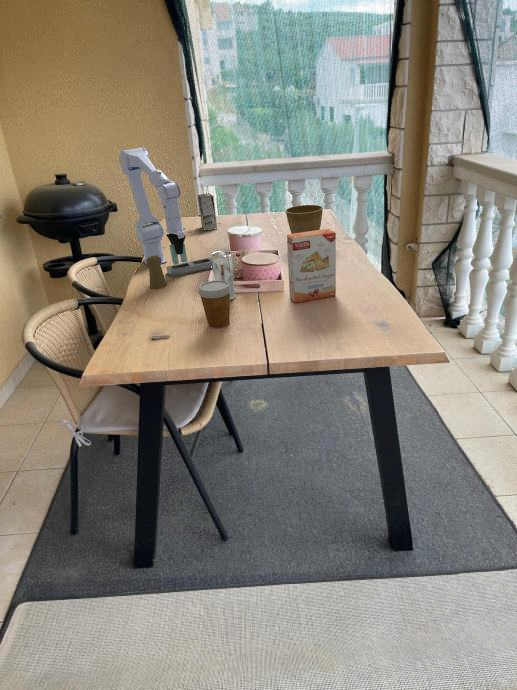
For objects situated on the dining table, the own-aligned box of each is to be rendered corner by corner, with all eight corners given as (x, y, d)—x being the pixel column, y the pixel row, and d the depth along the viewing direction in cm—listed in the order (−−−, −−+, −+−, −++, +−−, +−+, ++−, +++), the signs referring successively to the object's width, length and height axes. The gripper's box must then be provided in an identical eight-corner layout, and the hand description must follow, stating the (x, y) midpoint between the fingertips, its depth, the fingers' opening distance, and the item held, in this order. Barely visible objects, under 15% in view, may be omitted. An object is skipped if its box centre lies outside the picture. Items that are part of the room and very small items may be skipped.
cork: (163, 288, 184) (158, 259, 179) (147, 289, 185) (141, 259, 180) (169, 282, 189) (164, 253, 184) (153, 283, 191) (148, 254, 186)
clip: (172, 263, 197) (169, 245, 194) (185, 260, 199) (182, 242, 196) (174, 264, 195) (171, 246, 192) (187, 261, 197) (184, 243, 194)
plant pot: (323, 241, 221) (322, 203, 214) (323, 251, 208) (322, 211, 201) (288, 243, 223) (286, 205, 216) (286, 253, 210) (284, 213, 202)
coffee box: (217, 229, 254) (213, 195, 247) (205, 231, 253) (200, 197, 245) (213, 225, 262) (209, 192, 255) (201, 227, 261) (196, 194, 253)
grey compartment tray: (167, 273, 200) (166, 266, 199) (210, 263, 206) (210, 257, 205) (172, 277, 195) (170, 270, 194) (216, 267, 201) (215, 261, 200)
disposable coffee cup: (218, 314, 159) (213, 277, 154) (241, 321, 154) (237, 282, 148) (196, 326, 153) (190, 288, 148) (219, 333, 147) (214, 293, 142)
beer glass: (240, 294, 174) (235, 250, 167) (232, 302, 168) (227, 257, 161) (221, 293, 176) (215, 250, 169) (212, 300, 170) (207, 256, 163)
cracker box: (295, 304, 162) (292, 238, 153) (289, 297, 167) (285, 233, 158) (337, 296, 165) (336, 231, 155) (329, 290, 170) (328, 227, 161)
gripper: (189, 218, 185) (194, 255, 191) (177, 211, 197) (182, 246, 203) (170, 222, 182) (176, 259, 188) (159, 215, 194) (165, 250, 200)
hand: (178, 253), depth 195 cm, fingers closed on clip, 2 cm apart
